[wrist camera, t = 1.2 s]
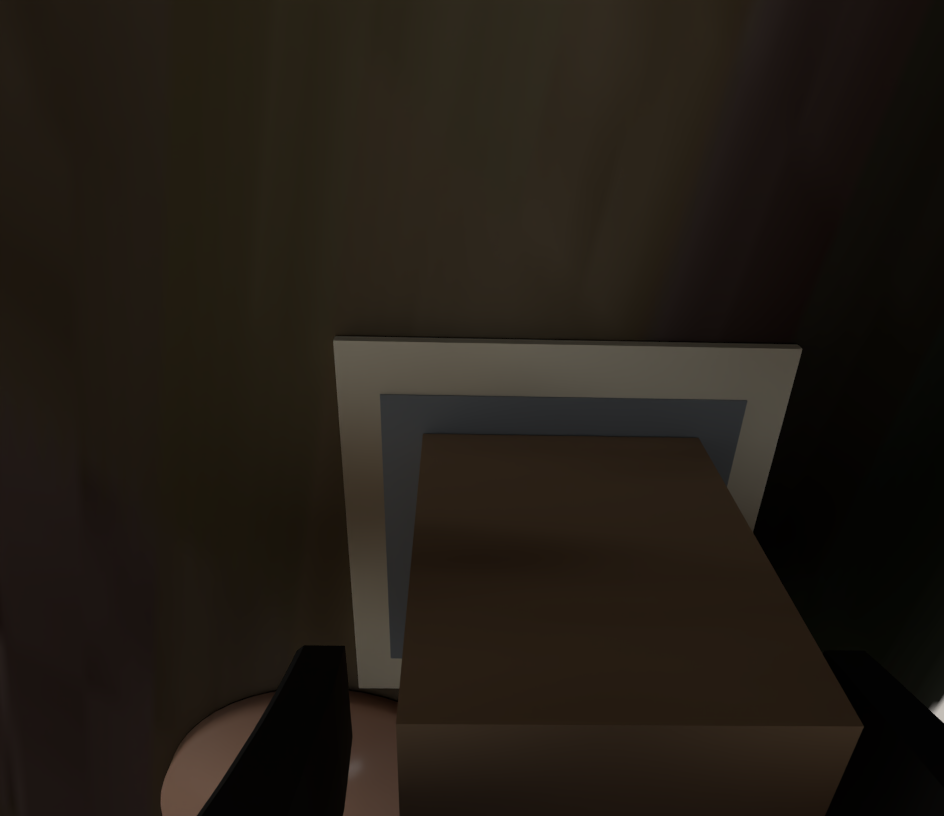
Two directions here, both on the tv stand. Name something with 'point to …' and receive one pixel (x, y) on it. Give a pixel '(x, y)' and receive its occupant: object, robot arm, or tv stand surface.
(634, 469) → the walnut block
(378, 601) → the board
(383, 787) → the coaster
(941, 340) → the tv stand surface
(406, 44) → the tv stand surface
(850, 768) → the robot arm
